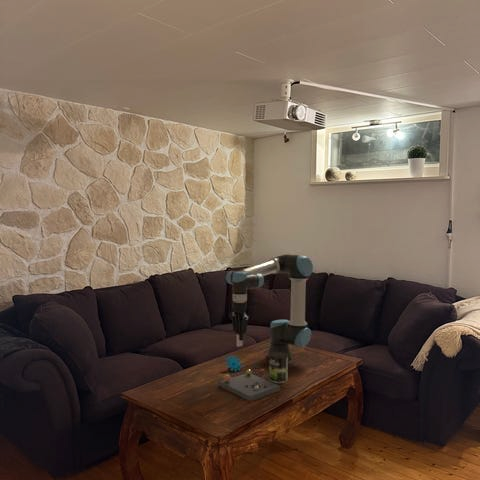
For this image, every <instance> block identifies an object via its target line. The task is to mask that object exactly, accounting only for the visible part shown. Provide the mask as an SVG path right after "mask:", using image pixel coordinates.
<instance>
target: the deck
mask: <svg viewBox="0 0 480 480" xmlns="http://www.w3.org/2000/svg"><path fill="white" fill-rule="evenodd" d="M254 386H259V387H260V388H254ZM219 387H220V388H222V389H225V390H226V391H228V392H230V393H232V394H233V395H237V396H239V397H241V398H243V399H244V400H246V401H248V402H252V401H255V400H258V399H260V398H263V397H267V396H269V395H272V394H275V393H277V392H280V391H281V386H280V385H278V384H277V383H274V382H271V381H269V380H267V379H265V378H263V377H260V376H258V375H255V374H253V373H252V374H251V375H247V374H246V373H243V374H240V375H236V376H232V377H231V380H230V381H229V382H225V381H224V380H223V379H222V380H221V381H219Z"/></svg>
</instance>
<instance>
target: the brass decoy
mask: <svg viewBox="0 0 480 480" xmlns="http://www.w3.org/2000/svg"><path fill="white" fill-rule="evenodd" d="M245 374H247V375H251V374H253V371H252V370H251V369H250V368H249V369H246V370H245Z"/></svg>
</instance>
